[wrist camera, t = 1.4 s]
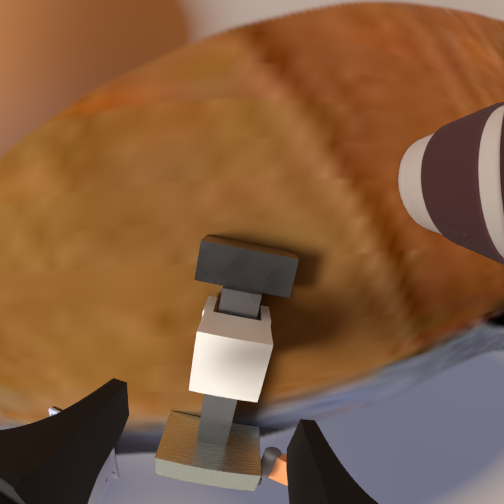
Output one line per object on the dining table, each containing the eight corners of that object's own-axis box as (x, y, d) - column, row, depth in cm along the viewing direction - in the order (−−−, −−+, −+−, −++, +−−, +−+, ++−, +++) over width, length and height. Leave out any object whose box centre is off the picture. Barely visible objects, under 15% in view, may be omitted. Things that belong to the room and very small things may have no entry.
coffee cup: (390, 103, 19) (537, 25, 4) (481, 149, 19) (617, 139, 4) (366, 229, 20) (535, 291, 6) (461, 258, 21) (599, 316, 6)
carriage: (256, 355, 21) (259, 402, 16) (201, 344, 21) (187, 389, 16) (268, 306, 21) (275, 345, 15) (208, 295, 20) (195, 330, 15)
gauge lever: (338, 496, 18) (334, 506, 17) (261, 464, 21) (254, 473, 20) (352, 477, 17) (348, 488, 16) (269, 444, 21) (261, 453, 20)
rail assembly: (255, 443, 24) (256, 491, 18) (169, 428, 24) (155, 474, 18) (309, 255, 21) (332, 278, 15) (192, 232, 20) (170, 247, 14)
